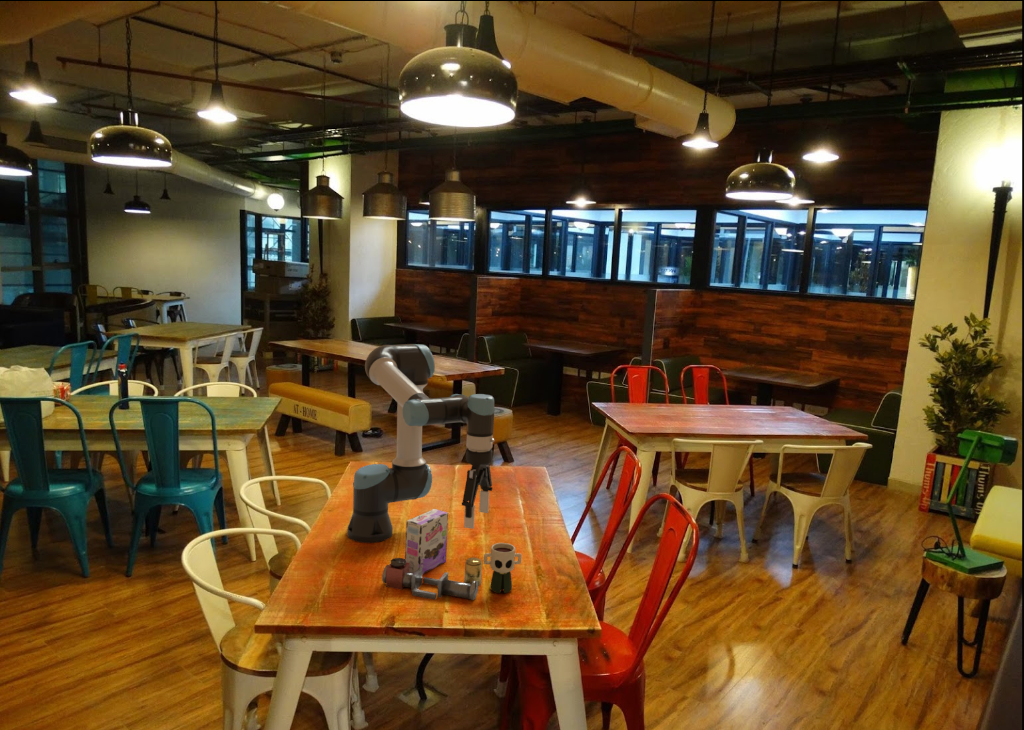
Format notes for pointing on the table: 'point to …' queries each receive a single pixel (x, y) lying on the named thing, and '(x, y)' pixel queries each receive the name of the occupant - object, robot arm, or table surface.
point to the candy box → (426, 540)
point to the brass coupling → (473, 570)
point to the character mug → (502, 566)
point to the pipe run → (400, 577)
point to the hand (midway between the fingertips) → (476, 519)
